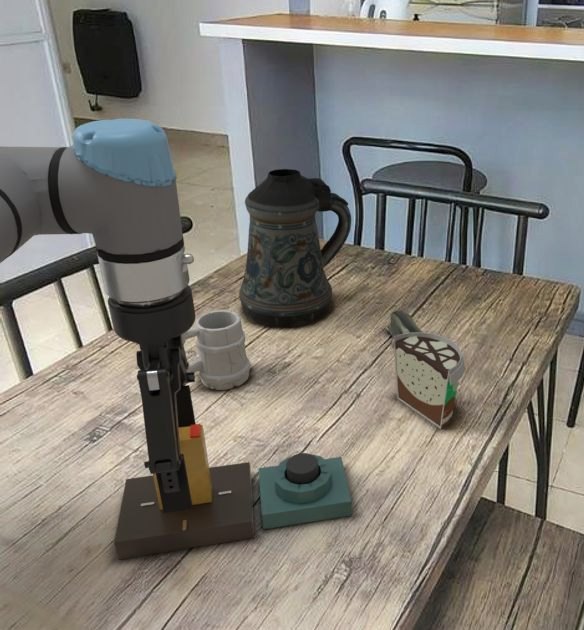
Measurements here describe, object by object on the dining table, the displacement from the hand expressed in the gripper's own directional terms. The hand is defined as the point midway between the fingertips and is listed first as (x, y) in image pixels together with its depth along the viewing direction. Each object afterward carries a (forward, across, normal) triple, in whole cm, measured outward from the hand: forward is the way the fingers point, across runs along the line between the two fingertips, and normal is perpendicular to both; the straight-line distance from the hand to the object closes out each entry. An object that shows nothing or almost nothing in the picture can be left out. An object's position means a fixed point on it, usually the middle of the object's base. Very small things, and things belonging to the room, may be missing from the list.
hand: (181, 469), depth 74 cm
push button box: (+7, 0, -13) cm, 15 cm away
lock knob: (+4, 0, 0) cm, 4 cm away
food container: (+7, +15, -33) cm, 37 cm away
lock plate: (+7, 0, 0) cm, 7 cm away
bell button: (+3, 0, -13) cm, 13 cm away
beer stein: (+7, +51, -16) cm, 54 cm away
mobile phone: (+7, +31, -33) cm, 46 cm away
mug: (+7, +28, -2) cm, 29 cm away
